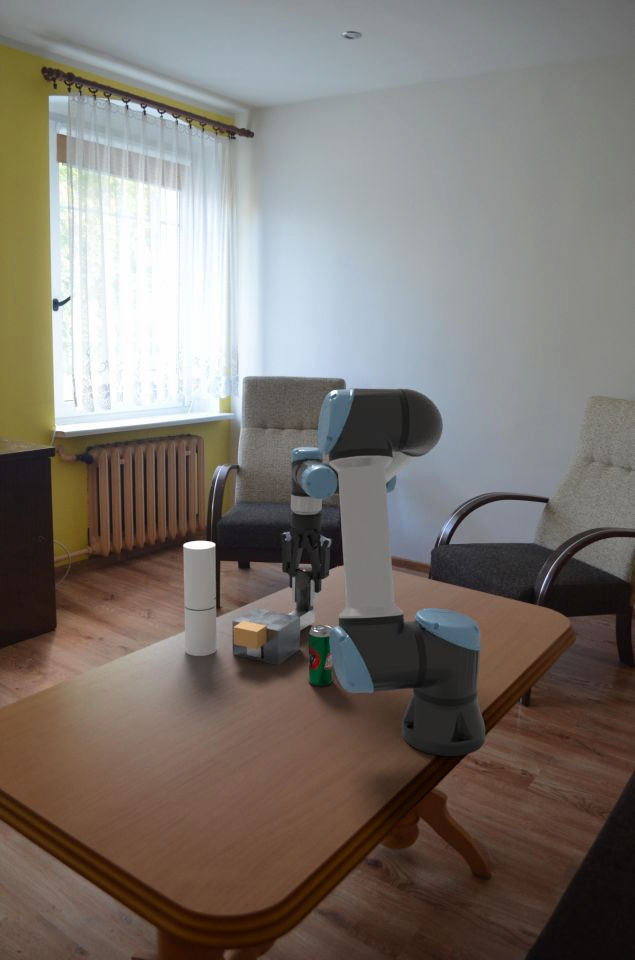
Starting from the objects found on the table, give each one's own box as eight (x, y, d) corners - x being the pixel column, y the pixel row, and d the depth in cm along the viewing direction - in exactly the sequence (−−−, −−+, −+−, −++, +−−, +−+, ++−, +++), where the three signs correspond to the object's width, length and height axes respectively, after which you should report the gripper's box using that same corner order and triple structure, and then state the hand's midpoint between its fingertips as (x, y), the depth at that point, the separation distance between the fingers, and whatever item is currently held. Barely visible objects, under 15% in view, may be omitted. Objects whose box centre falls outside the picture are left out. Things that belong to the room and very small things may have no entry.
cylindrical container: (219, 644, 187) (218, 541, 183) (212, 656, 180) (211, 550, 176) (189, 642, 188) (187, 540, 183) (181, 655, 181) (179, 548, 176)
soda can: (329, 688, 165) (330, 633, 163) (306, 685, 166) (306, 631, 164) (334, 678, 170) (335, 624, 168) (311, 675, 171) (311, 622, 169)
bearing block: (278, 665, 176) (278, 630, 175) (232, 654, 182) (232, 621, 180) (299, 649, 185) (300, 616, 184) (255, 639, 191) (255, 607, 189)
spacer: (257, 649, 173) (256, 631, 173) (233, 644, 176) (233, 627, 175) (266, 642, 177) (266, 625, 176) (243, 637, 180) (243, 620, 179)
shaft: (262, 658, 177) (262, 600, 175) (245, 654, 179) (245, 596, 177) (316, 621, 200) (317, 568, 198) (301, 617, 202) (301, 566, 200)
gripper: (345, 512, 194) (343, 604, 198) (282, 504, 201) (282, 592, 206) (331, 518, 187) (330, 613, 191) (267, 509, 195) (267, 601, 199)
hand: (305, 602), depth 198 cm, fingers closed on shaft, 4 cm apart
